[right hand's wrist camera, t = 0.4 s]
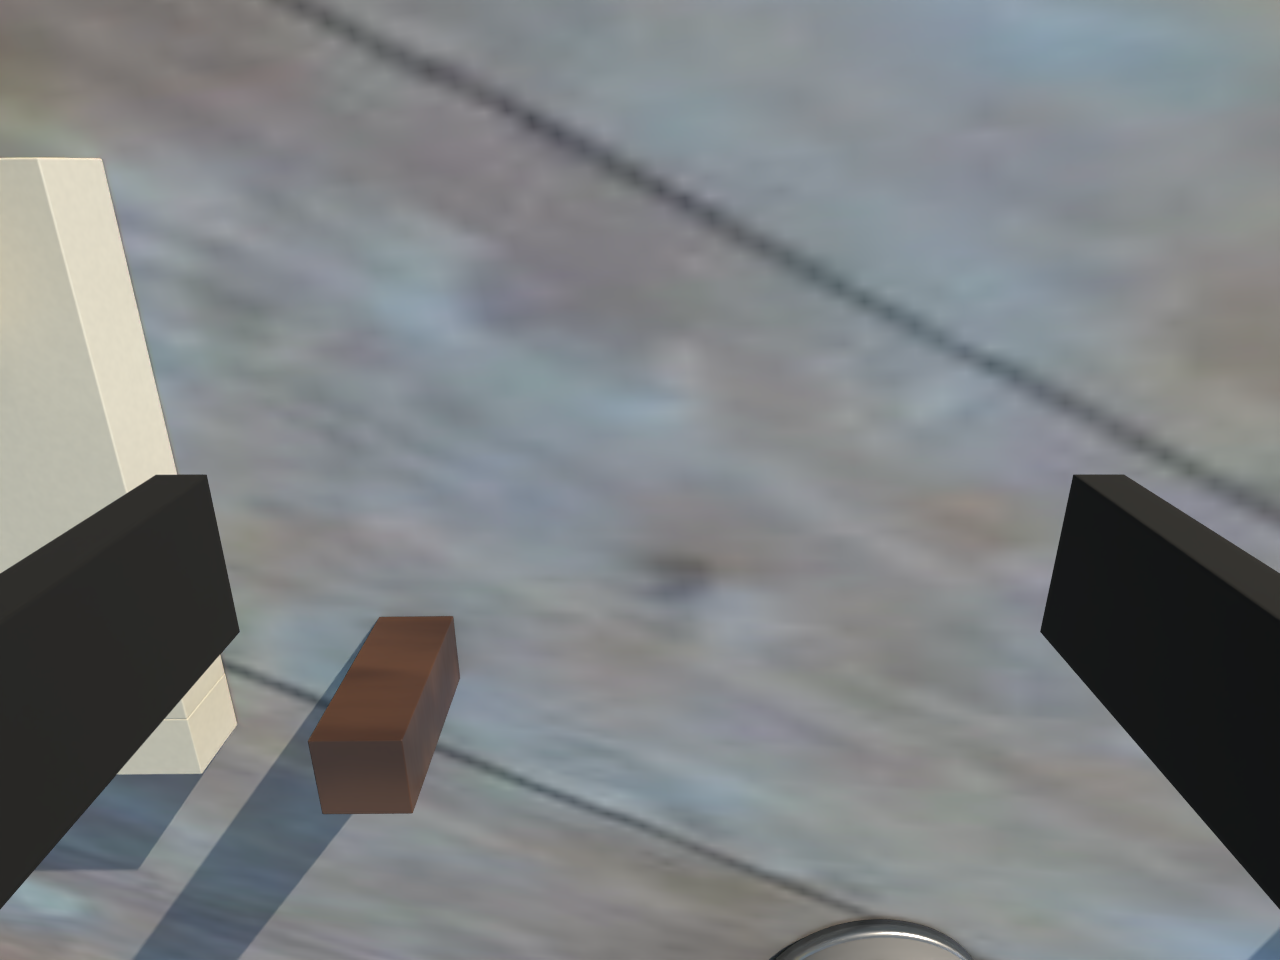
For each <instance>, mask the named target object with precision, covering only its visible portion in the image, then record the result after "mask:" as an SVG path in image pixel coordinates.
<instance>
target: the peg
mask: <svg viewBox="0 0 1280 960" xmlns="http://www.w3.org/2000/svg"><path fill="white" fill-rule="evenodd" d="M459 679H460V674H459V665H458V656H457V647H456V638H455V629H454V620H453V616H436V617H379V619H378V620H377V622H376V624H375V625H374V627H373V629H372V631H371V632H370V634H369V636H368V638H367V639H366V641H365V643H364V645H363V646H362V648H361V650H360V651H359V653H358V655H357V657H356V658H355V660H354V662H353V664H352V665H351V667H350V669H349V671H348V672H347V674H346V676H345V678H344V679H343V681H342V683H341V684H340V686H339V688H338V690H337V691H336V693H335V695H334V697H333V698H332V700H331V702H330V704H329V705H328V707H327V709H326V711H325V712H324V714H323V716H322V717H321V719H320V721H319V723H318V724H317V726H316V728H315V730H314V731H313V733H312V735H311V737H310V738H309V740H308V744H309V749H310V754H311V759H312V764H313V769H314V774H315V779H316V784H317V789H318V794H319V799H320V804H321V809H322V814H393V813H413V811H414V808H415V805H416V802H417V799H418V796H419V793H420V791H421V788H422V785H423V782H424V779H425V776H426V774H427V771H428V768H429V765H430V762H431V759H432V756H433V754H434V751H435V748H436V745H437V742H438V739H439V736H440V734H441V731H442V728H443V725H444V722H445V719H446V716H447V714H448V711H449V708H450V705H451V702H452V699H453V696H454V694H455V691H456V688H457V685H458V682H459Z"/></svg>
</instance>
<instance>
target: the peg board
mask: <svg viewBox="0 0 1280 960" xmlns="http://www.w3.org/2000/svg"><path fill="white" fill-rule="evenodd" d="M155 475H177V472H176V468H175V463H174V459H173V455H172V451H171V447H170V442H169V438H168V434H167V430H166V426H165V422H164V417H163V413H162V409H161V405H160V401H159V396H158V392H157V388H156V384H155V380H154V376H153V371H152V367H151V363H150V359H149V355H148V350H147V346H146V342H145V338H144V334H143V330H142V325H141V321H140V317H139V313H138V309H137V304H136V300H135V296H134V292H133V288H132V283H131V279H130V275H129V271H128V267H127V263H126V258H125V254H124V250H123V246H122V242H121V237H120V233H119V229H118V225H117V221H116V217H115V212H114V208H113V204H112V200H111V196H110V191H109V187H108V183H107V179H106V175H105V171H104V166H103V162H102V159H100V158H0V573H2V572H3V571H5V570H7V569H8V568H10V567H11V566H13V565H14V564H16V563H18V562H19V561H21V560H22V559H24V558H25V557H27V556H29V555H30V554H32V553H33V552H35V551H36V550H38V549H40V548H41V547H43V546H44V545H46V544H48V543H49V542H51V541H52V540H54V539H55V538H57V537H59V536H60V535H62V534H63V533H65V532H66V531H68V530H70V529H71V528H73V527H74V526H76V525H77V524H79V523H81V522H82V521H84V520H85V519H87V518H89V517H90V516H92V515H93V514H95V513H96V512H98V511H100V510H101V509H103V508H104V507H106V506H107V505H109V504H111V503H112V502H114V501H115V500H117V499H118V498H120V497H122V496H123V495H125V494H126V493H128V492H129V491H131V490H133V489H134V488H136V487H137V486H139V485H141V484H142V483H144V482H145V481H147V480H148V479H150V478H152V477H153V476H155ZM236 726H237V722H236V717H235V713H234V709H233V705H232V701H231V697H230V692H229V688H228V684H227V680H226V676H225V673H224V668H223V664H222V660H221V656H220V655H219V656H218V657H217V659H216V660H215V661H214V662H213V663H212V664H211V666H210V667H209V668H208V669H207V670H206V671H205V673H204V674H203V675H202V676H201V677H200V678H199V680H198V681H197V682H196V683H195V684H194V685H193V686H192V688H191V689H190V690H189V691H188V692H187V693H186V695H185V696H184V697H183V698H182V699H181V700H180V702H179V703H178V704H177V705H176V706H175V707H174V708H173V710H172V711H171V712H170V713H169V714H168V715H167V717H166V718H165V719H164V720H163V721H162V722H161V724H160V725H159V726H158V727H157V728H156V729H155V731H154V732H153V733H152V734H151V735H150V736H149V737H148V739H147V740H146V741H145V742H144V743H143V744H142V746H141V747H140V748H139V749H138V750H137V751H136V753H135V754H134V755H133V756H132V757H131V758H130V759H129V761H128V762H127V763H126V764H125V765H124V766H123V768H122V769H121V770H120V771H119V772H118V773H117V775H128V774H202V773H203V771H204V770H205V769H206V767H207V766H208V764H209V763H210V762H211V760H212V759H213V758H214V756H215V755H216V753H217V752H218V751H219V749H220V748H221V746H222V745H223V744H224V742H225V741H226V739H227V738H228V737H229V735H230V734H231V733H232V731H233V730H234V728H235V727H236Z"/></svg>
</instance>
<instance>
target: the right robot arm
mask: <svg viewBox="0 0 1280 960" xmlns="http://www.w3.org/2000/svg"><path fill="white" fill-rule="evenodd" d="M239 632H240V631H239V626H238V621H237V617H236V612H235V607H234V602H233V598H232V593H231V588H230V583H229V579H228V574H227V569H226V564H225V560H224V555H223V550H222V545H221V541H220V536H219V531H218V526H217V522H216V517H215V512H214V507H213V503H212V498H211V493H210V488H209V484H208V479H207V475H155V476H153V477H152V478H150V479H148V480H147V481H145V482H144V483H142V484H141V485H139V486H137V487H136V488H134V489H133V490H131V491H129V492H128V493H126V494H125V495H123V496H122V497H120V498H118V499H117V500H115V501H114V502H112V503H111V504H109V505H107V506H106V507H104V508H103V509H101V510H100V511H98V512H96V513H95V514H93V515H92V516H90V517H89V518H87V519H85V520H84V521H82V522H81V523H79V524H77V525H76V526H74V527H73V528H71V529H70V530H68V531H66V532H65V533H63V534H62V535H60V536H59V537H57V538H55V539H54V540H52V541H51V542H49V543H48V544H46V545H44V546H43V547H41V548H40V549H38V550H36V551H35V552H33V553H32V554H30V555H29V556H27V557H25V558H24V559H22V560H21V561H19V562H18V563H16V564H14V565H13V566H11V567H10V568H8V569H7V570H5V571H3V572H2V573H0V909H1V908H2V907H3V906H4V904H5V903H6V902H7V901H8V900H9V899H10V897H11V896H12V895H13V894H14V893H15V892H16V890H17V889H18V888H19V887H20V886H21V885H22V884H23V882H24V881H25V880H26V879H27V878H28V877H29V875H30V874H31V873H32V872H33V871H34V870H35V868H36V867H37V866H38V865H39V864H40V863H41V861H42V860H43V859H44V858H45V857H46V856H47V855H48V853H49V852H50V851H51V850H52V849H53V848H54V846H55V845H56V844H57V843H58V842H59V841H60V839H61V838H62V837H63V836H64V835H65V834H66V833H67V831H68V830H69V829H70V828H71V827H72V826H73V824H74V823H75V822H76V821H77V820H78V819H79V817H80V816H81V815H82V814H83V813H84V812H85V810H86V809H87V808H88V807H89V806H90V805H91V804H92V802H93V801H94V800H95V799H96V798H97V797H98V795H99V794H100V793H101V792H102V791H103V790H104V788H105V787H106V786H107V785H108V784H109V783H110V782H111V780H112V779H113V778H114V777H115V776H116V775H117V773H118V772H119V771H120V770H121V769H122V768H123V766H124V765H125V764H126V763H127V762H128V761H129V759H130V758H131V757H132V756H133V755H134V754H135V753H136V751H137V750H138V749H139V748H140V747H141V746H142V744H143V743H144V742H145V741H146V740H147V739H148V737H149V736H150V735H151V734H152V733H153V732H154V731H155V729H156V728H157V727H158V726H159V725H160V724H161V722H162V721H163V720H164V719H165V718H166V717H167V715H168V714H169V713H170V712H171V711H172V710H173V708H174V707H175V706H176V705H177V704H178V703H179V702H180V700H181V699H182V698H183V697H184V696H185V695H186V693H187V692H188V691H189V690H190V689H191V688H192V686H193V685H194V684H195V683H196V682H197V681H198V680H199V678H200V677H201V676H202V675H203V674H204V673H205V671H206V670H207V669H208V668H209V667H210V666H211V664H212V663H213V662H214V661H215V660H216V659H217V657H218V656H219V655H220V654H221V653H222V652H223V651H224V649H225V648H226V647H227V646H228V645H229V644H230V642H231V641H232V640H233V639H234V638H235V637H236V635H237V634H238V633H239ZM1040 632H1041V633H1042V634H1043V635H1044V637H1045V638H1046V639H1047V640H1048V641H1049V642H1050V644H1051V645H1052V646H1053V647H1054V648H1055V649H1056V651H1057V652H1058V653H1059V654H1060V655H1061V656H1062V657H1063V659H1064V660H1065V661H1066V662H1067V663H1068V664H1069V666H1070V667H1071V668H1072V669H1073V670H1074V671H1075V673H1076V674H1077V675H1078V676H1079V677H1080V678H1081V680H1082V681H1083V682H1084V683H1085V684H1086V685H1087V686H1088V688H1089V689H1090V690H1091V691H1092V692H1093V693H1094V695H1095V696H1096V697H1097V698H1098V699H1099V700H1100V702H1101V703H1102V704H1103V705H1104V706H1105V707H1106V708H1107V710H1108V711H1109V712H1110V713H1111V714H1112V715H1113V717H1114V718H1115V719H1116V720H1117V721H1118V722H1119V724H1120V725H1121V726H1122V727H1123V728H1124V729H1125V731H1126V732H1127V733H1128V734H1129V735H1130V736H1131V737H1132V739H1133V740H1134V741H1135V742H1136V743H1137V744H1138V746H1139V747H1140V748H1141V749H1142V750H1143V751H1144V753H1145V754H1146V755H1147V756H1148V757H1149V758H1150V759H1151V761H1152V762H1153V763H1154V764H1155V765H1156V766H1157V768H1158V769H1159V770H1160V771H1161V772H1162V773H1163V775H1164V776H1165V777H1166V778H1167V779H1168V780H1169V782H1170V783H1171V784H1172V785H1173V786H1174V787H1175V788H1176V790H1177V791H1178V792H1179V793H1180V794H1181V795H1182V797H1183V798H1184V799H1185V800H1186V801H1187V802H1188V804H1189V805H1190V806H1191V807H1192V808H1193V809H1194V810H1195V812H1196V813H1197V814H1198V815H1199V816H1200V817H1201V819H1202V820H1203V821H1204V822H1205V823H1206V824H1207V826H1208V827H1209V828H1210V829H1211V830H1212V831H1213V833H1214V834H1215V835H1216V836H1217V837H1218V838H1219V839H1220V841H1221V842H1222V843H1223V844H1224V845H1225V846H1226V848H1227V849H1228V850H1229V851H1230V852H1231V853H1232V855H1233V856H1234V857H1235V858H1236V859H1237V860H1238V861H1239V863H1240V864H1241V865H1242V866H1243V867H1244V868H1245V870H1246V871H1247V872H1248V873H1249V874H1250V875H1251V877H1252V878H1253V879H1254V880H1255V881H1256V882H1257V884H1258V885H1259V886H1260V887H1261V888H1262V889H1263V890H1264V892H1265V893H1266V894H1267V895H1268V896H1269V897H1270V899H1271V900H1272V901H1273V902H1274V903H1275V904H1276V906H1277V907H1278V908H1279V909H1280V573H1278V572H1277V571H1275V570H1273V569H1272V568H1270V567H1269V566H1267V565H1266V564H1264V563H1262V562H1261V561H1259V560H1258V559H1256V558H1255V557H1253V556H1251V555H1250V554H1248V553H1247V552H1245V551H1244V550H1242V549H1240V548H1239V547H1237V546H1236V545H1234V544H1232V543H1231V542H1229V541H1228V540H1226V539H1225V538H1223V537H1221V536H1220V535H1218V534H1217V533H1215V532H1214V531H1212V530H1210V529H1209V528H1207V527H1206V526H1204V525H1203V524H1201V523H1199V522H1198V521H1196V520H1195V519H1193V518H1191V517H1190V516H1188V515H1187V514H1185V513H1184V512H1182V511H1180V510H1179V509H1177V508H1176V507H1174V506H1173V505H1171V504H1169V503H1168V502H1166V501H1165V500H1163V499H1162V498H1160V497H1158V496H1157V495H1155V494H1154V493H1152V492H1150V491H1149V490H1147V489H1146V488H1144V487H1143V486H1141V485H1139V484H1138V483H1136V482H1135V481H1133V480H1132V479H1130V478H1128V477H1127V476H1125V475H1073V479H1072V484H1071V488H1070V493H1069V498H1068V503H1067V507H1066V512H1065V517H1064V522H1063V526H1062V531H1061V536H1060V541H1059V545H1058V550H1057V555H1056V560H1055V564H1054V569H1053V574H1052V579H1051V583H1050V588H1049V593H1048V598H1047V602H1046V607H1045V612H1044V617H1043V621H1042V626H1041V631H1040ZM775 960H973V959H972V957H971V956H970V955H969V954H968V952H967V951H966V950H965V949H964V948H963V947H962V946H961V945H960V944H958V943H957V942H956V941H954V940H953V939H952V938H950V937H948V936H946V935H945V934H943V933H941V932H939V931H936V930H934V929H932V928H929V927H926V926H923V925H919V924H916V923H911V922H906V921H898V920H883V919H876V920H862V921H854V922H848V923H843V924H839V925H836V926H832V927H829V928H826V929H823V930H820V931H818V932H816V933H813V934H811V935H809V936H807V937H805V938H803V939H801V940H800V941H798V942H796V943H795V944H793V945H792V946H790V947H789V948H788V949H786V950H785V951H784V952H783V953H781V954H780V955H779V956H778V957H777V958H776V959H775Z"/></svg>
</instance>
